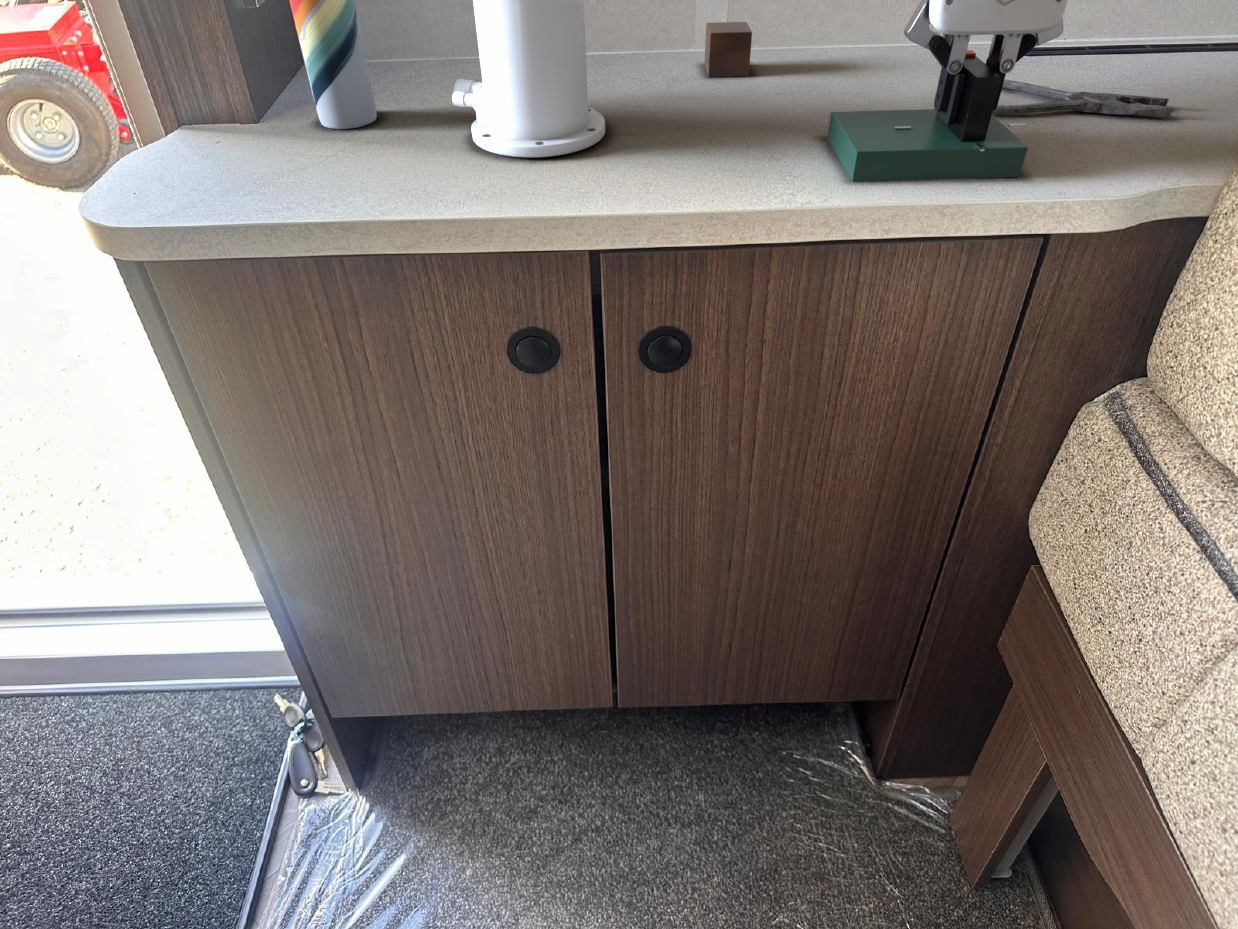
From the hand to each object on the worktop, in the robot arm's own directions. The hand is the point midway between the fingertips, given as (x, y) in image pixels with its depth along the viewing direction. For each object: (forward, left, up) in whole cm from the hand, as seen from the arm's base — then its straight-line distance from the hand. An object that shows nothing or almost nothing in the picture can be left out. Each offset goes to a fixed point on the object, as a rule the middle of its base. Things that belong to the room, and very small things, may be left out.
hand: (962, 117), depth 71 cm
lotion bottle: (-57, -11, -4) cm, 58 cm away
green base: (-3, -1, -3) cm, 4 cm away
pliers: (+7, +19, -3) cm, 20 cm away
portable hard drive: (0, 0, -1) cm, 1 cm away
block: (-27, +18, -3) cm, 32 cm away
